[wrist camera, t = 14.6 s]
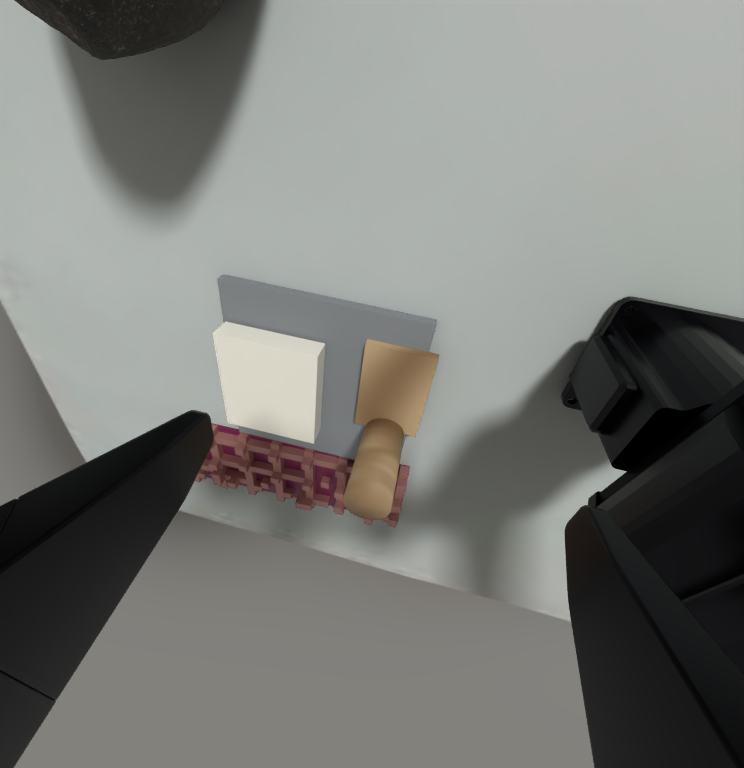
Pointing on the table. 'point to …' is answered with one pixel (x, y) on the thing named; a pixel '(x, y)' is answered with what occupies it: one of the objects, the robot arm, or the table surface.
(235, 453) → the red lattice rack
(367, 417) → the turner
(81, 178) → the table surface
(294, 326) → the mat
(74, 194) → the table surface
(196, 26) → the stone
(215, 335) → the tile
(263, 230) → the table surface
